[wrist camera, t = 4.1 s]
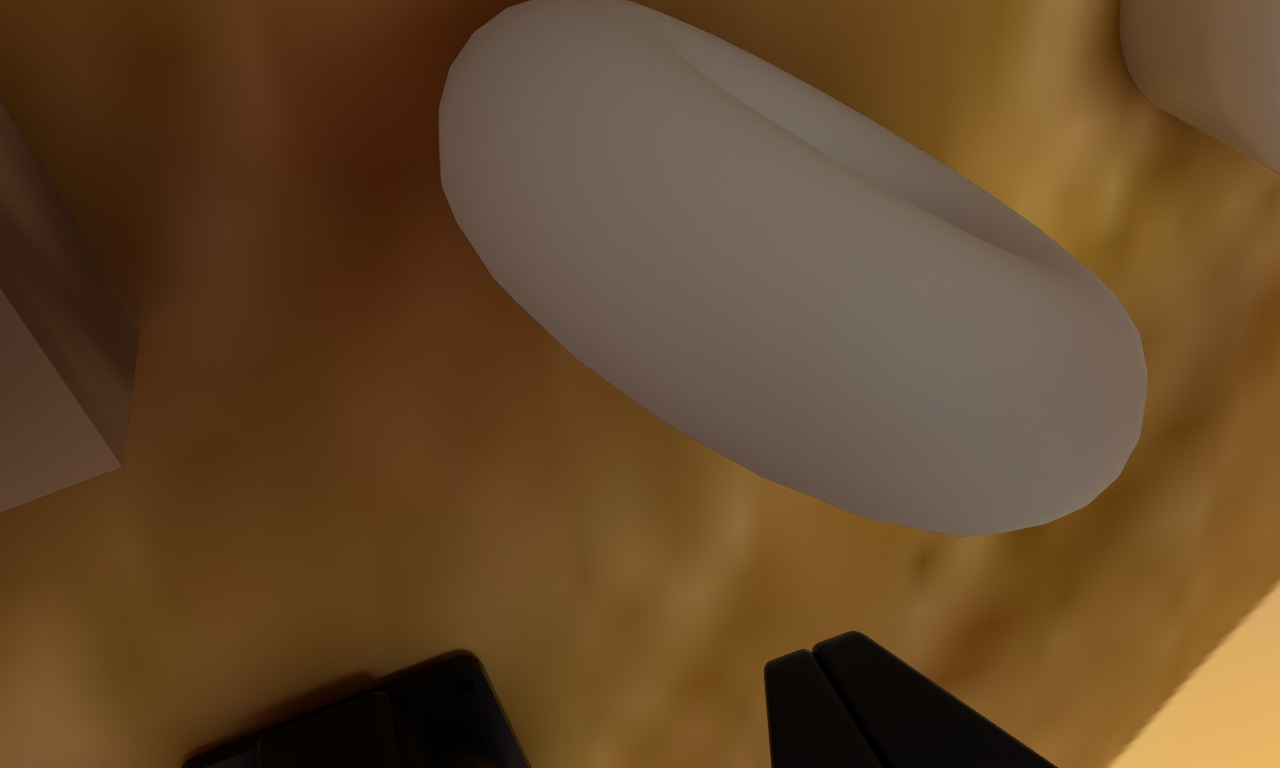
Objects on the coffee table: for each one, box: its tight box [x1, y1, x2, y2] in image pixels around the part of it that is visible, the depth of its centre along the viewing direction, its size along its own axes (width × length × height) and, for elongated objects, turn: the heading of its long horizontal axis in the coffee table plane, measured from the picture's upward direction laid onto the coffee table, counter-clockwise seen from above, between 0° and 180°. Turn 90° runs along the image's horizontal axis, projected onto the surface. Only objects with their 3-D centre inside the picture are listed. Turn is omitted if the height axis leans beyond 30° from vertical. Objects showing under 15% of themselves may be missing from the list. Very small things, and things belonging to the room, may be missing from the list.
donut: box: [439, 0, 1147, 537], centre depth 16 cm, size 10×3×10 cm, turn 60°
